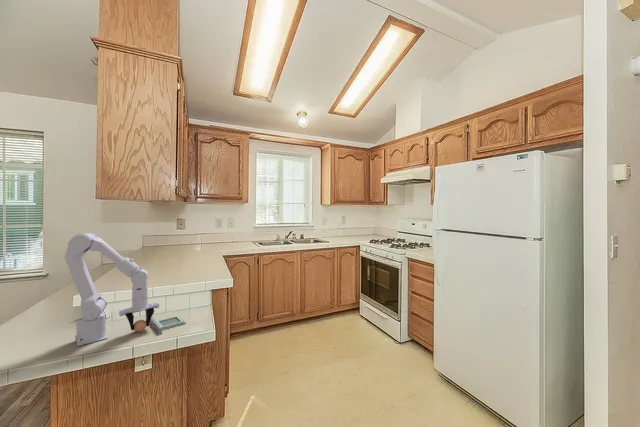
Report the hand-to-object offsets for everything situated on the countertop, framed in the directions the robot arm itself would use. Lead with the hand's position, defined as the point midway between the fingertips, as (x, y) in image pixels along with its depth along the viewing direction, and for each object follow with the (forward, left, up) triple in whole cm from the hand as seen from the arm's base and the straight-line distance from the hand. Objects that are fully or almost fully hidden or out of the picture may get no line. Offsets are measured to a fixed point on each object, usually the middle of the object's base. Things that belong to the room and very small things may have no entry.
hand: (139, 327), depth 118 cm
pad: (+12, 0, -2) cm, 12 cm away
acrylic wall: (+6, +1, -2) cm, 6 cm away
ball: (0, 0, +1) cm, 1 cm away
